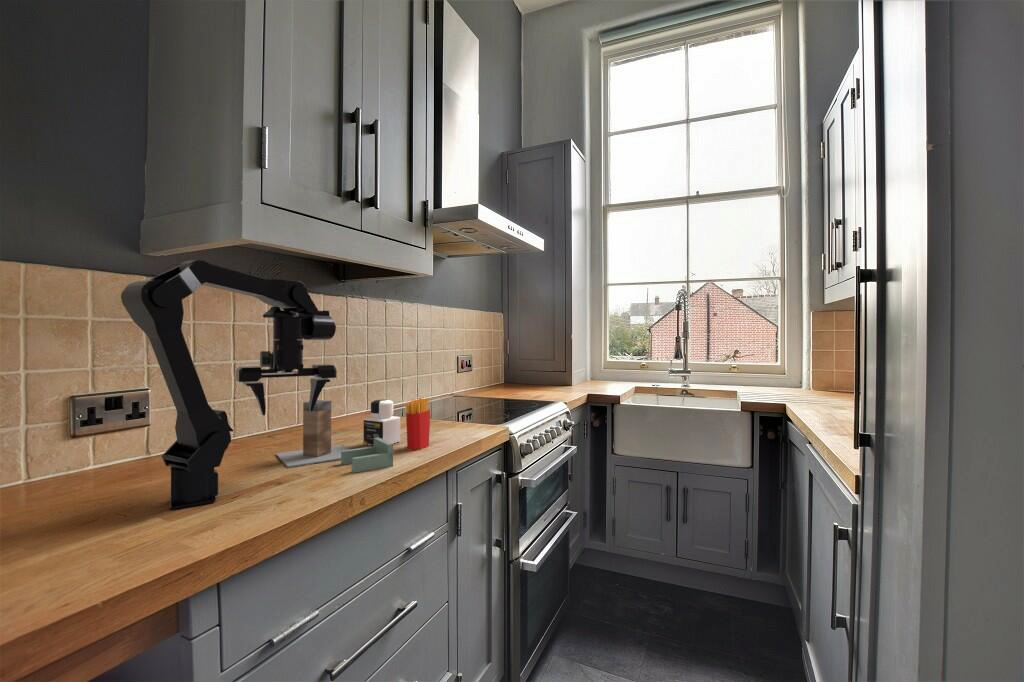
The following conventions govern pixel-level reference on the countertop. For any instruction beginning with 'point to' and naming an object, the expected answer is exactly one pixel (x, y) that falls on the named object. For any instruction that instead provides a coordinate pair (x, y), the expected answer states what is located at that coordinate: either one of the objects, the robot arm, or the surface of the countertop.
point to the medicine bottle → (382, 423)
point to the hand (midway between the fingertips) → (287, 413)
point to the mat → (298, 459)
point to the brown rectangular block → (317, 429)
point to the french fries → (418, 424)
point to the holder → (369, 456)
